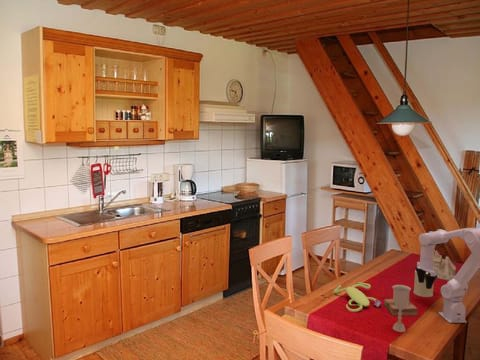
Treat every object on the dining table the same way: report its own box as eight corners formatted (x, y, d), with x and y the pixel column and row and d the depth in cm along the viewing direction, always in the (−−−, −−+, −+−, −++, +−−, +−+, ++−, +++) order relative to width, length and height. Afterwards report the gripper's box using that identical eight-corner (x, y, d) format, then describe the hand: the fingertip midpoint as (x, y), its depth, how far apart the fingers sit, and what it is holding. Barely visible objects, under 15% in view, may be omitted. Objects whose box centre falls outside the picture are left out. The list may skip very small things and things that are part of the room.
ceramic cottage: (452, 282, 232) (453, 255, 232) (422, 275, 245) (424, 249, 244) (463, 277, 243) (465, 251, 242) (435, 270, 255) (436, 246, 254)
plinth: (417, 315, 192) (417, 308, 191) (393, 315, 191) (393, 309, 191) (406, 304, 203) (407, 298, 202) (383, 305, 202) (384, 299, 202)
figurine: (365, 289, 222) (366, 279, 221) (388, 312, 196) (388, 300, 195) (331, 290, 220) (331, 280, 220) (349, 313, 194) (349, 301, 193)
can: (435, 297, 211) (436, 274, 210) (415, 296, 213) (416, 273, 212) (430, 290, 220) (432, 268, 219) (411, 289, 222) (413, 267, 220)
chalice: (404, 325, 182) (406, 284, 180) (411, 332, 176) (413, 291, 173) (387, 325, 182) (389, 284, 180) (393, 332, 175) (396, 291, 173)
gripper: (411, 253, 208) (410, 280, 209) (425, 262, 193) (423, 291, 195) (425, 253, 208) (424, 279, 210) (440, 262, 193) (438, 291, 195)
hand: (424, 285), depth 202 cm, fingers open, 7 cm apart
